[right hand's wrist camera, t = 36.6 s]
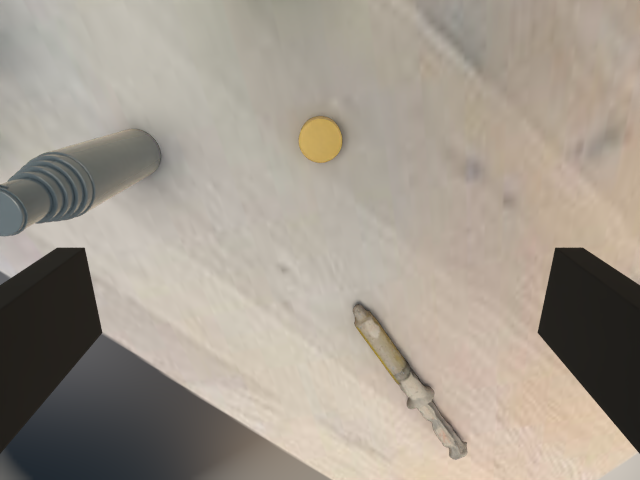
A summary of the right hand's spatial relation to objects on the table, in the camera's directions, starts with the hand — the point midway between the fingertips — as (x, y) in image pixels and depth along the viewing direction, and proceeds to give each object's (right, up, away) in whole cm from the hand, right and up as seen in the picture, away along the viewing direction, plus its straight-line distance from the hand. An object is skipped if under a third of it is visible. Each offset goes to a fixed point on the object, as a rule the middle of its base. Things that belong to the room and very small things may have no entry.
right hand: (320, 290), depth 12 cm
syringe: (+11, -16, +41) cm, 45 cm away
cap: (0, +11, +29) cm, 31 cm away
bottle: (-18, +10, +31) cm, 38 cm away
